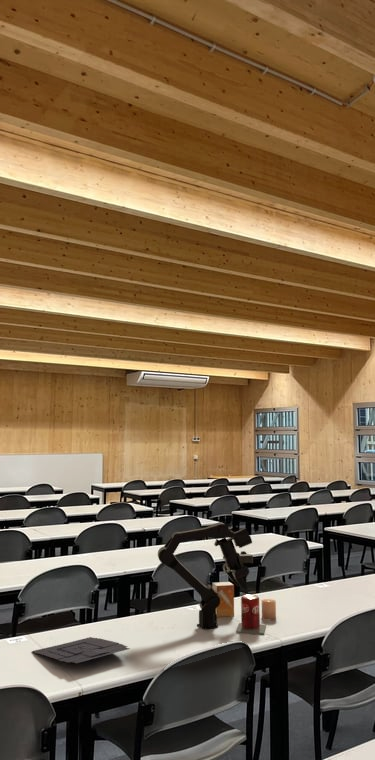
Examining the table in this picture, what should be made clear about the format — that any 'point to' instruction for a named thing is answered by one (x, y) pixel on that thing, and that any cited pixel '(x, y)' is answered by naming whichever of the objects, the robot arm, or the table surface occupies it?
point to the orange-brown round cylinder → (268, 609)
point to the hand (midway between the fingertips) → (242, 588)
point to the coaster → (258, 631)
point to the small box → (225, 598)
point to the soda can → (250, 612)
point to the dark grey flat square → (82, 650)
